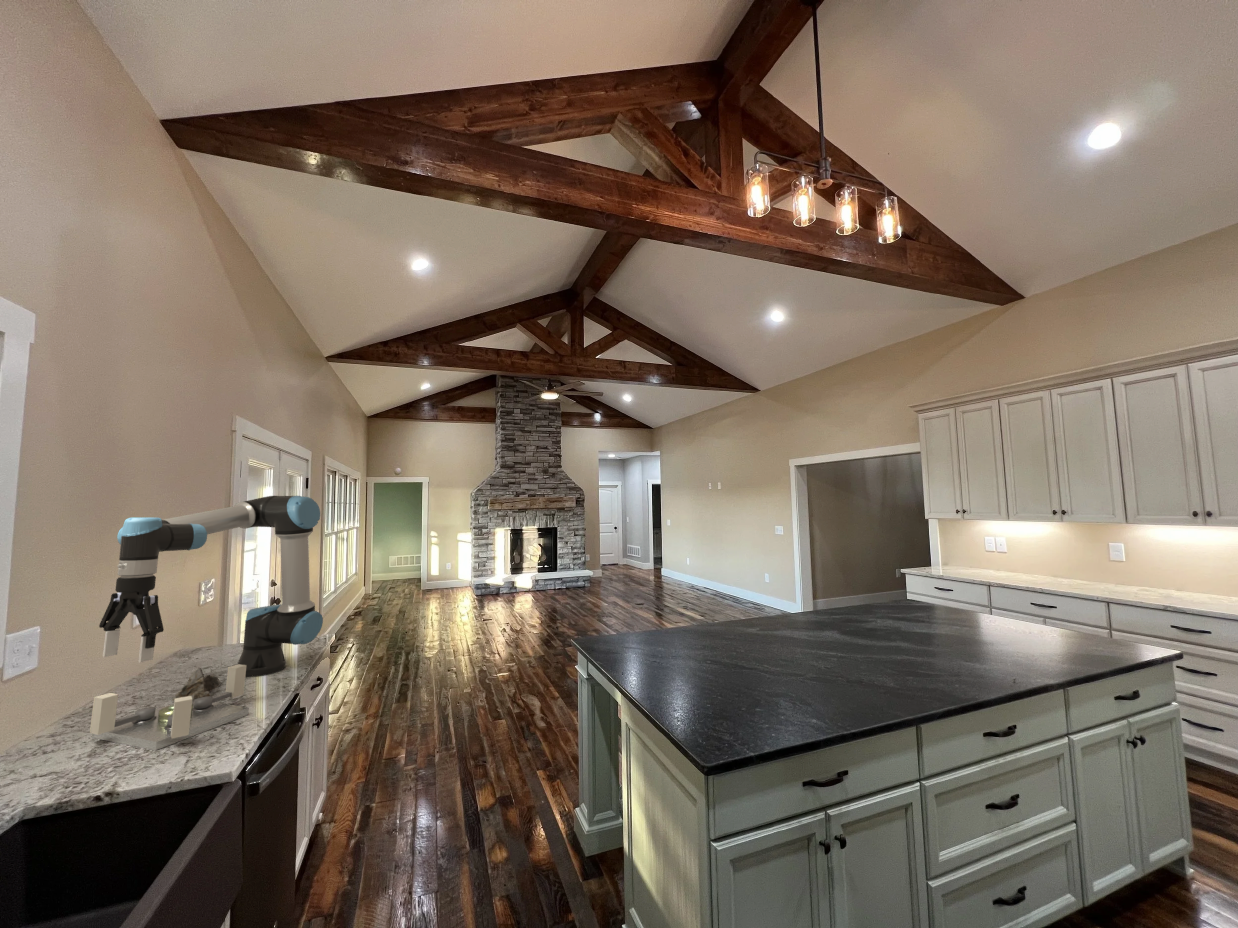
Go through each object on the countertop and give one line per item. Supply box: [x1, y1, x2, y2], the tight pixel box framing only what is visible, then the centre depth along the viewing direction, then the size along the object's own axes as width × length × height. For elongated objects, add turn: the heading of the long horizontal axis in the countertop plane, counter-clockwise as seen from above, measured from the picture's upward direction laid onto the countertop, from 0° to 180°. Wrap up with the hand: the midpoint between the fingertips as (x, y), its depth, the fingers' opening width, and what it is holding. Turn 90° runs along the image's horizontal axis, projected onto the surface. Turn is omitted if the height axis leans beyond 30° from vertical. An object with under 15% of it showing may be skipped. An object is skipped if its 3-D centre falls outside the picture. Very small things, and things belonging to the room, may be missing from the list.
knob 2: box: [167, 696, 192, 739], centre depth 128 cm, size 13×4×9 cm, turn 45°
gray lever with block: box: [194, 663, 246, 709], centre depth 147 cm, size 13×4×9 cm, turn 165°
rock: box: [171, 667, 222, 704], centre depth 159 cm, size 18×11×10 cm, turn 16°
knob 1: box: [89, 692, 157, 735], centre depth 130 cm, size 13×4×9 cm, turn 163°
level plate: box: [91, 699, 249, 751], centre depth 135 cm, size 23×23×6 cm
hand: (127, 658), depth 129 cm, fingers open, 13 cm apart
